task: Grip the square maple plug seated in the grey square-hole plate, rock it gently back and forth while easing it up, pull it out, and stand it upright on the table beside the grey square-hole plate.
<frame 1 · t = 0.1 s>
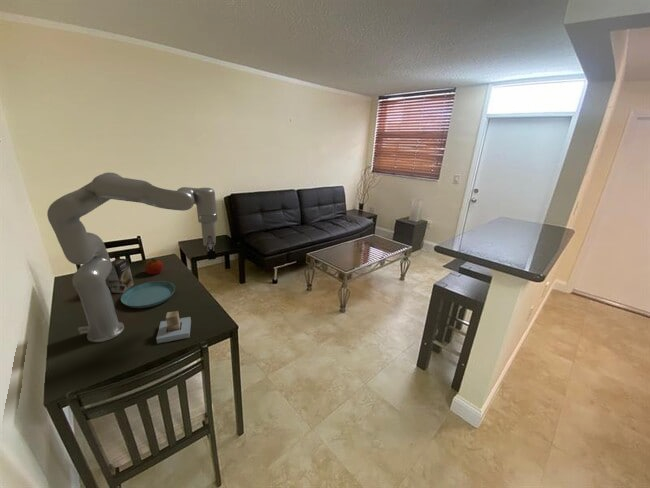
hand: (211, 254, 125), 31 cm above the table, tool pointing down, fingers open, 9 cm apart
fruit: (155, 273, 172), on the table
coffee box: (123, 288, 154), on the table
plug: (173, 323, 121), in the grey square-hole plate
blue plate: (150, 298, 147), on the table
grey square-hole plate: (175, 331, 123), on the table
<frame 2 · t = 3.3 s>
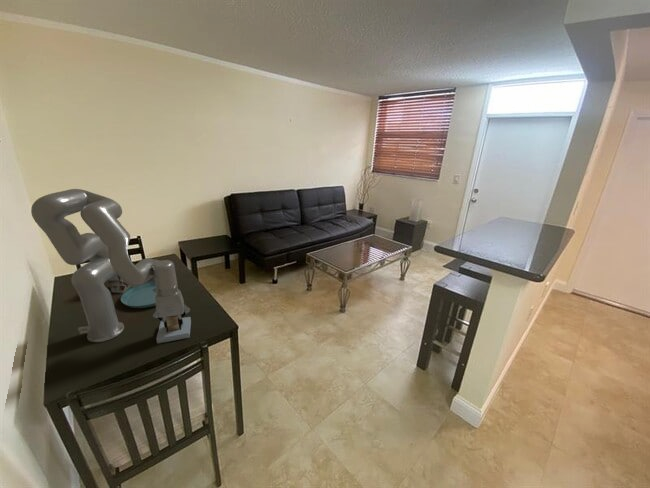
hand: (174, 326, 122), 3 cm above the table, tool pointing down, fingers closed on plug, 4 cm apart
plug: (173, 323, 121), in the grey square-hole plate, touching gripper
everything else where it was.
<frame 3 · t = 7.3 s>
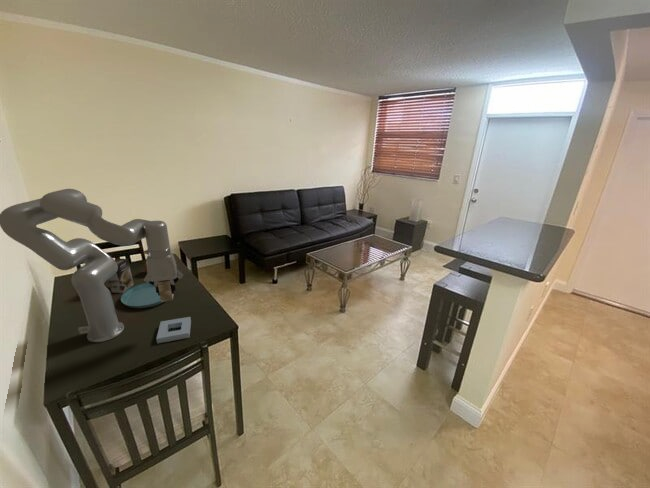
hand: (166, 292, 116), 19 cm above the table, tool pointing down, fingers closed on plug, 4 cm apart
plug: (165, 289, 116), point 21 cm above the table, touching gripper
everything else where it was.
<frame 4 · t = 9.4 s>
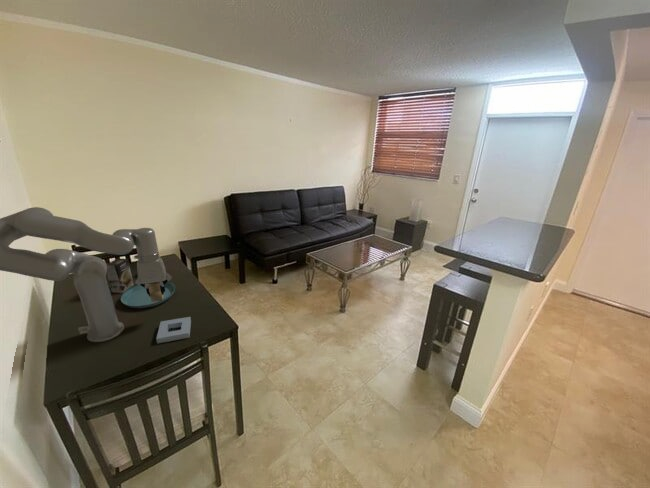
hand: (156, 293, 126), 13 cm above the table, tool pointing down, fingers closed on plug, 4 cm apart
plug: (156, 290, 125), point 15 cm above the table, touching gripper
everything else where it was.
when the fingers open (4 cm above the table, at t = 11.4 s): plug drops 1 cm, on the table.
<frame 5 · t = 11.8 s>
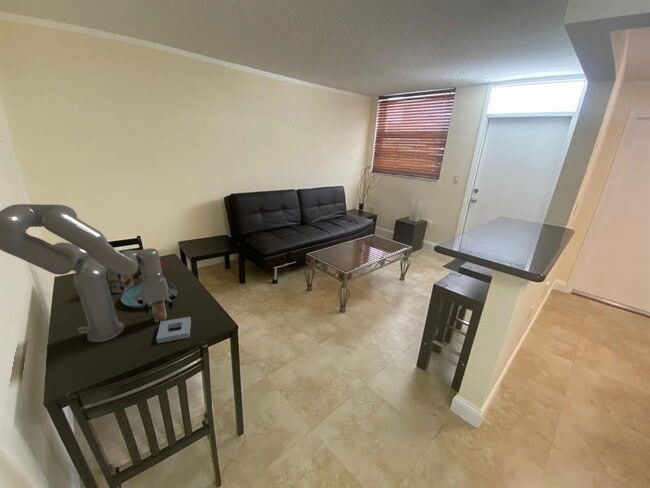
hand: (159, 309, 129), 5 cm above the table, tool pointing down, fingers open, 9 cm apart
plug: (159, 310, 129), on the table
everything else where it was.
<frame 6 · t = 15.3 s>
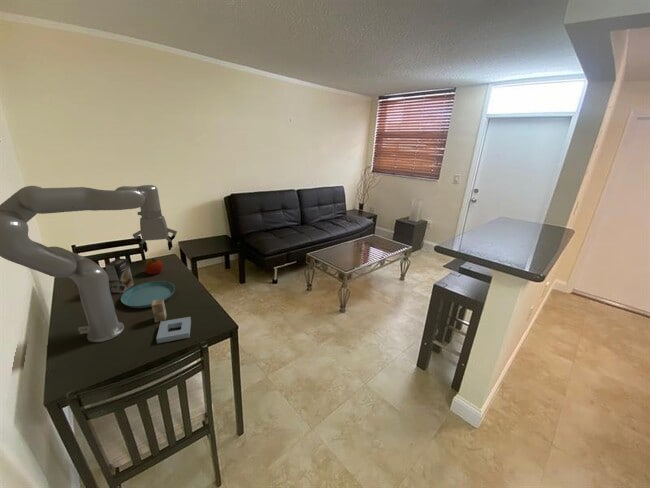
hand: (158, 250, 129), 30 cm above the table, tool pointing down, fingers open, 9 cm apart
nothing on the table moved.
at the end: plug inside the target area (0.1 cm from its centre), on the table; plug tilted 0°; plug touching table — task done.
